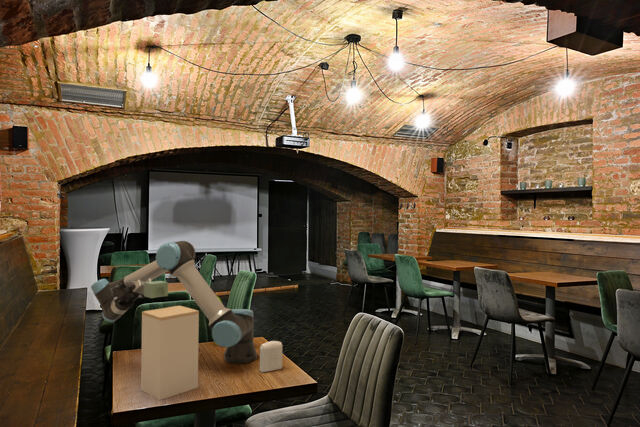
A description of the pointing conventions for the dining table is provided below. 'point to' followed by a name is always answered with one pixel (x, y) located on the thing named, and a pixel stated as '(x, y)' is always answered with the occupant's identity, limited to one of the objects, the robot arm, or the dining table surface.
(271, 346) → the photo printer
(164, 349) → the pedestal
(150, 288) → the bar
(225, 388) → the dining table surface
